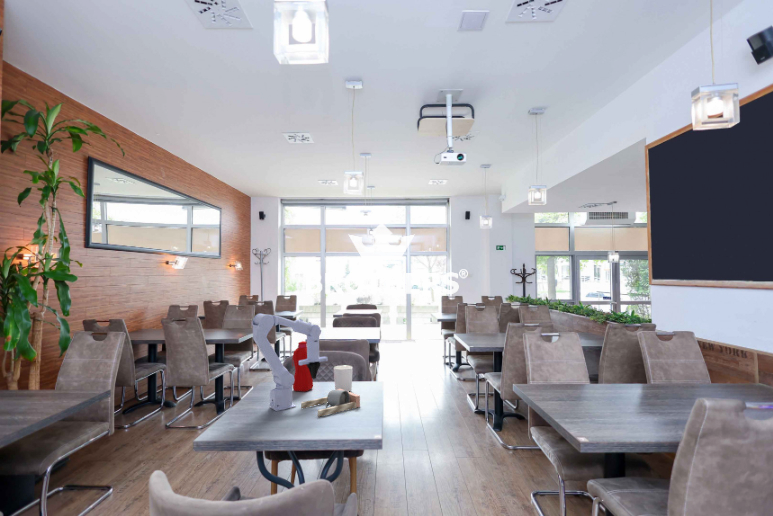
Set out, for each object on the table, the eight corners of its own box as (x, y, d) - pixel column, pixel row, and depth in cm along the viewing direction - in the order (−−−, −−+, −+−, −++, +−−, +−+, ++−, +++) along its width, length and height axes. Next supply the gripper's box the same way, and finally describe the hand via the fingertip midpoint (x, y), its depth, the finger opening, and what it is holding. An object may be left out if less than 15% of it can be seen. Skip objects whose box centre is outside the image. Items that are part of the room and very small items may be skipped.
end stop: (356, 407, 189) (356, 396, 189) (336, 400, 202) (336, 389, 202) (359, 406, 190) (359, 395, 190) (340, 399, 203) (340, 388, 203)
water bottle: (296, 386, 228) (296, 339, 229) (315, 388, 225) (314, 340, 226) (287, 391, 219) (287, 342, 220) (306, 392, 216) (306, 343, 217)
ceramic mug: (336, 403, 196) (336, 386, 197) (350, 406, 192) (350, 388, 192) (321, 409, 188) (320, 392, 188) (335, 412, 183) (334, 394, 183)
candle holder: (356, 391, 216) (355, 367, 217) (338, 394, 211) (338, 370, 212) (348, 387, 225) (347, 364, 225) (330, 390, 220) (330, 366, 220)
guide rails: (319, 417, 177) (319, 410, 177) (301, 408, 190) (301, 402, 190) (356, 407, 189) (356, 402, 189) (336, 400, 202) (336, 394, 202)
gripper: (303, 352, 195) (303, 382, 195) (330, 348, 204) (331, 377, 204) (296, 350, 201) (296, 379, 200) (323, 346, 210) (323, 374, 209)
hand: (313, 378), depth 202 cm, fingers closed
